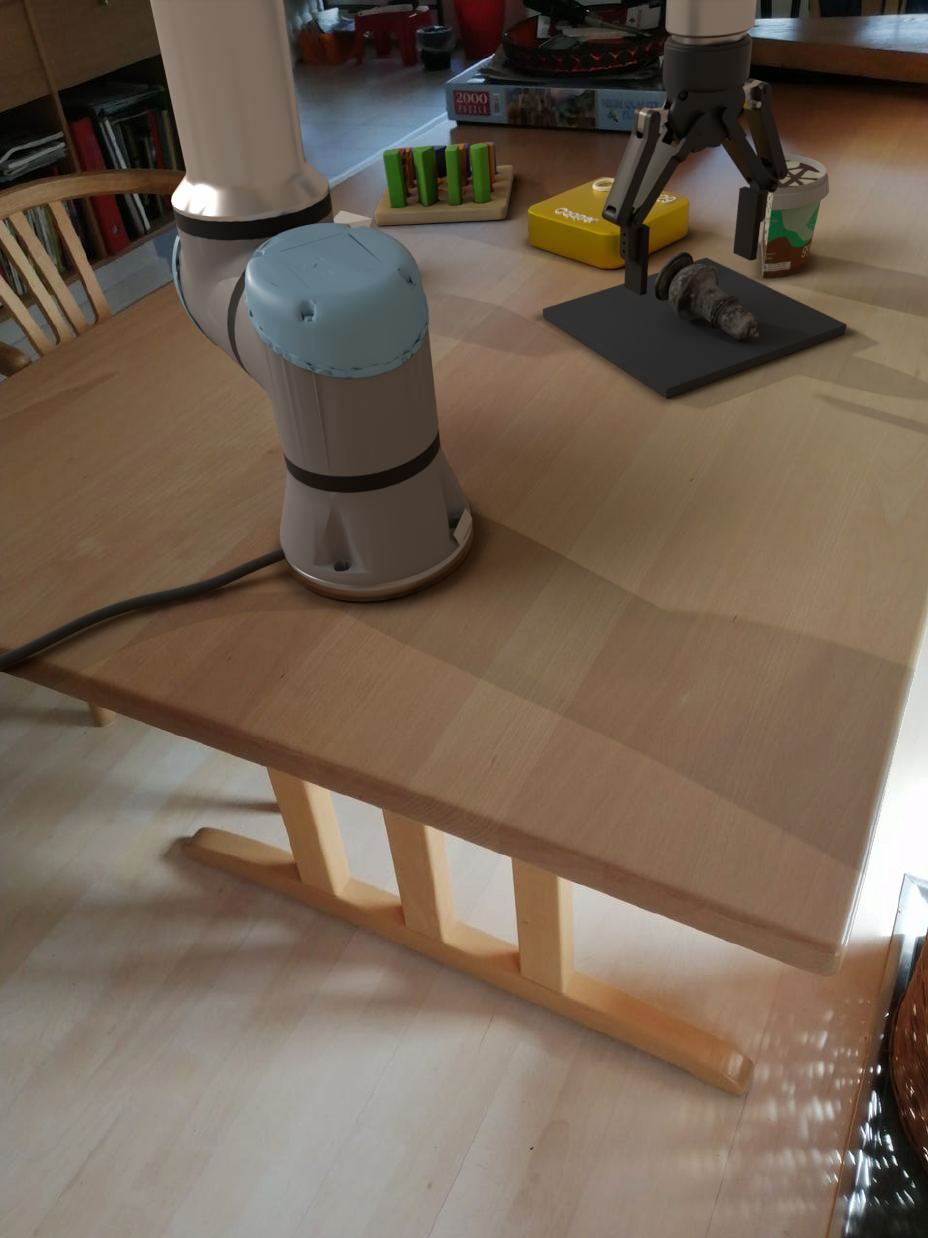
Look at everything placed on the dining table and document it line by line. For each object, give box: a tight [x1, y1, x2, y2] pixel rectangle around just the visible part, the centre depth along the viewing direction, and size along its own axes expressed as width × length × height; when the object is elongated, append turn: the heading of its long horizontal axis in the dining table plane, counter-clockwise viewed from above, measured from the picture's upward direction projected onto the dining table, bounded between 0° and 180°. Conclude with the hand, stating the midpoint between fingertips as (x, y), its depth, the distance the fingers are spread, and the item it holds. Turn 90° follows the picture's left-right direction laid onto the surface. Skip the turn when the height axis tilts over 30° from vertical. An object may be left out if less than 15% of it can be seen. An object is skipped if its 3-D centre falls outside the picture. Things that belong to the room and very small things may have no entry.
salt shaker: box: [654, 251, 759, 341], centre depth 100 cm, size 6×6×12 cm
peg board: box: [374, 141, 514, 226], centre depth 136 cm, size 18×17×9 cm
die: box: [334, 209, 381, 231], centre depth 117 cm, size 8×9×10 cm
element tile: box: [527, 176, 690, 270], centre depth 122 cm, size 15×15×5 cm
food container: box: [760, 153, 830, 279], centre depth 111 cm, size 12×6×10 cm, turn 168°
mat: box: [542, 257, 847, 399], centre depth 104 cm, size 22×22×1 cm
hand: (691, 273), depth 101 cm, fingers open, 13 cm apart
